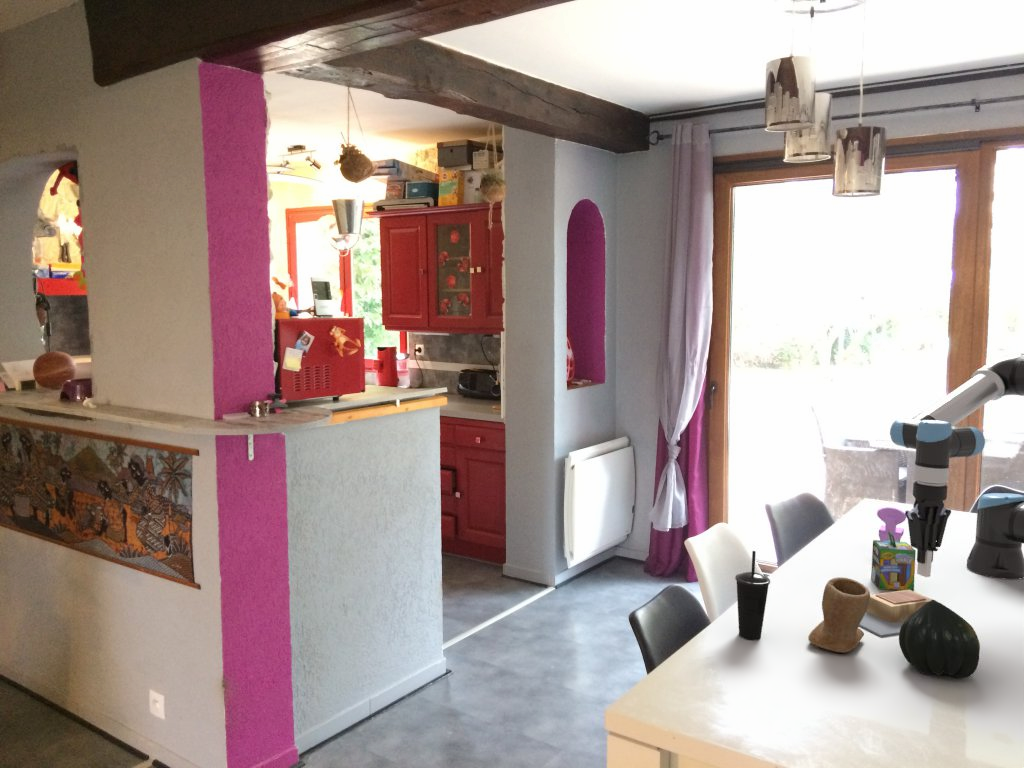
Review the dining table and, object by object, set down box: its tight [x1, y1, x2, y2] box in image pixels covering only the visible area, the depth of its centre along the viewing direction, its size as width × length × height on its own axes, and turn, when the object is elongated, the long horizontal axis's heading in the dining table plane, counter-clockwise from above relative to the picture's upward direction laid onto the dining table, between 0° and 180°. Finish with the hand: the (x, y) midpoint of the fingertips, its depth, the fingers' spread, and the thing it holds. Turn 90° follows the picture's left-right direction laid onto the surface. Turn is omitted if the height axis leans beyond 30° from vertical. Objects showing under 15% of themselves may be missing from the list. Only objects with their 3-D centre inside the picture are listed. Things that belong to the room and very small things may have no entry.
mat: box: [859, 611, 904, 638], centre depth 196 cm, size 20×18×1 cm
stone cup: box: [808, 576, 871, 653], centre depth 179 cm, size 15×12×15 cm
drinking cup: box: [734, 550, 771, 641], centre depth 182 cm, size 8×8×20 cm
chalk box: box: [870, 531, 917, 592], centre depth 219 cm, size 9×9×15 cm
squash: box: [898, 599, 981, 679], centre depth 167 cm, size 14×15×15 cm
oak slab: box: [867, 590, 934, 623], centre depth 197 cm, size 4×8×14 cm
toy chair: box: [876, 506, 907, 542], centre depth 250 cm, size 8×9×15 cm
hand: (923, 575), depth 199 cm, fingers closed
